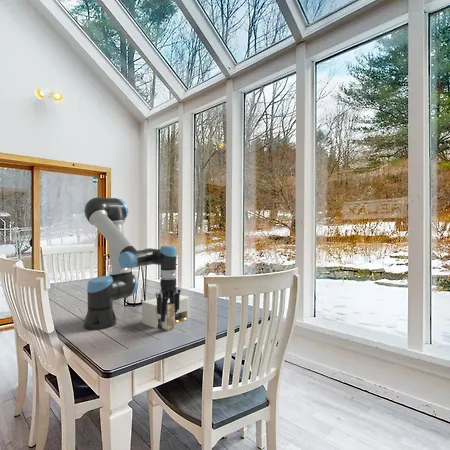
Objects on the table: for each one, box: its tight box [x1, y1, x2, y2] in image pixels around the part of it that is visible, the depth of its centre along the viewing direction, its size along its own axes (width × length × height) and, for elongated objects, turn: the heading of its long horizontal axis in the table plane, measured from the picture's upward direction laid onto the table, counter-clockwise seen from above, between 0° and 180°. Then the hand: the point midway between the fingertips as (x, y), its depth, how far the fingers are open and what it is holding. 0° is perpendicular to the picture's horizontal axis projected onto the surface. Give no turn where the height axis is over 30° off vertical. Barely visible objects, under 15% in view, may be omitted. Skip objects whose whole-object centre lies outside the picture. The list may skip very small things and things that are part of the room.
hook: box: [158, 303, 181, 332], centre depth 160 cm, size 17×12×12 cm
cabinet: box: [141, 293, 191, 329], centre depth 165 cm, size 22×11×11 cm, turn 138°
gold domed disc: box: [178, 316, 188, 322], centre depth 167 cm, size 4×4×1 cm
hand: (168, 326), depth 153 cm, fingers closed on hook, 4 cm apart
